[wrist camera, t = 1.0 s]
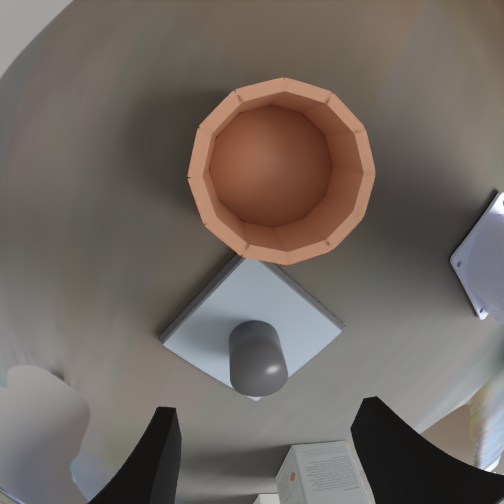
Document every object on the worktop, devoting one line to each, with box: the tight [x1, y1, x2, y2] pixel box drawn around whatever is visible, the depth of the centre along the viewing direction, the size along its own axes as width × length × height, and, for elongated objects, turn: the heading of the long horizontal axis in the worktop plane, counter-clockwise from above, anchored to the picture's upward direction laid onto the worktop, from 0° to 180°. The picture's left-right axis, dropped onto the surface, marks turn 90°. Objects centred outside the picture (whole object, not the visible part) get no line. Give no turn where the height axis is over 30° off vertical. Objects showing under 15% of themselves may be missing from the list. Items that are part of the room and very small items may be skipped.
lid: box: [163, 257, 342, 401], centre depth 17 cm, size 8×8×4 cm
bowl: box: [187, 77, 376, 265], centre depth 14 cm, size 8×8×4 cm
